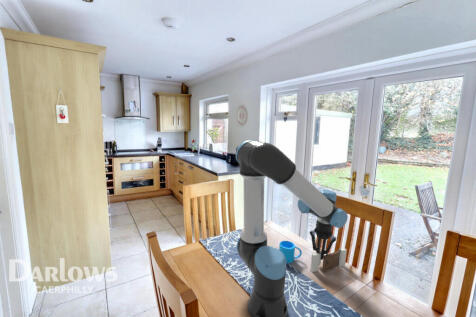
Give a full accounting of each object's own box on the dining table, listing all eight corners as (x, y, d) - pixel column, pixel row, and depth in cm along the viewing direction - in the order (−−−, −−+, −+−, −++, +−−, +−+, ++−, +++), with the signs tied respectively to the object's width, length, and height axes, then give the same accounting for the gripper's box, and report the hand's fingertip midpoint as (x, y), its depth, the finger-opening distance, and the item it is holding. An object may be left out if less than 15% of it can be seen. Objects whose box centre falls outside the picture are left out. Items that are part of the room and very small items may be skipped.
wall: (344, 265, 116) (346, 249, 114) (312, 272, 110) (314, 254, 108) (342, 264, 117) (344, 247, 116) (310, 270, 111) (312, 252, 110)
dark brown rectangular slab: (339, 268, 113) (340, 253, 112) (325, 273, 109) (327, 258, 108) (335, 265, 115) (336, 251, 114) (322, 270, 111) (323, 255, 110)
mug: (279, 262, 117) (280, 248, 116) (278, 253, 125) (279, 240, 124) (302, 264, 116) (303, 250, 114) (299, 255, 124) (301, 242, 122)
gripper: (309, 220, 110) (304, 263, 114) (337, 227, 104) (330, 273, 108) (313, 215, 117) (308, 256, 121) (339, 222, 110) (333, 265, 114)
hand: (318, 264), depth 114 cm, fingers closed
